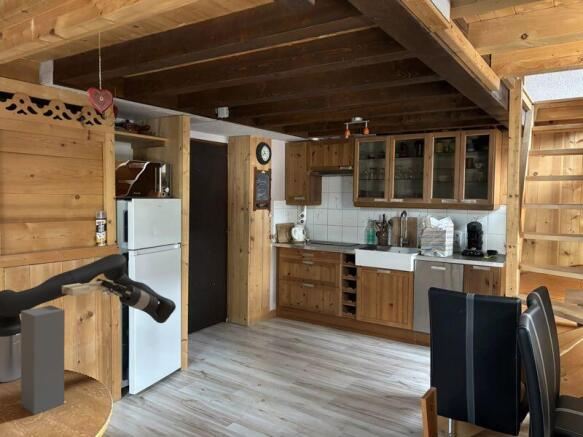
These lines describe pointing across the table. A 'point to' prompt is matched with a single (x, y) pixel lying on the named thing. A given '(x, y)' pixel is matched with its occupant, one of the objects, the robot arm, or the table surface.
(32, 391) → the tall grey pillar
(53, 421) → the table surface
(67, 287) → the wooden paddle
